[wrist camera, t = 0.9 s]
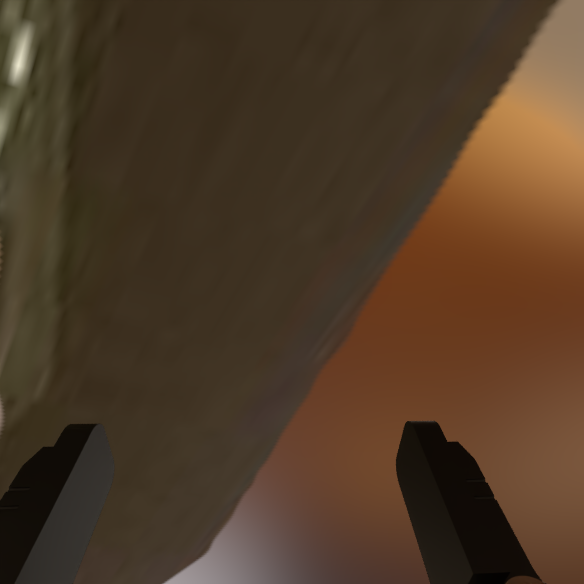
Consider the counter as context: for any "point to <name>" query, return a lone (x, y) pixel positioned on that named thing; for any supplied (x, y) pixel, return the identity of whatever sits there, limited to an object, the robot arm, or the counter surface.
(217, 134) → the counter surface
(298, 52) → the counter surface
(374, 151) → the counter surface
